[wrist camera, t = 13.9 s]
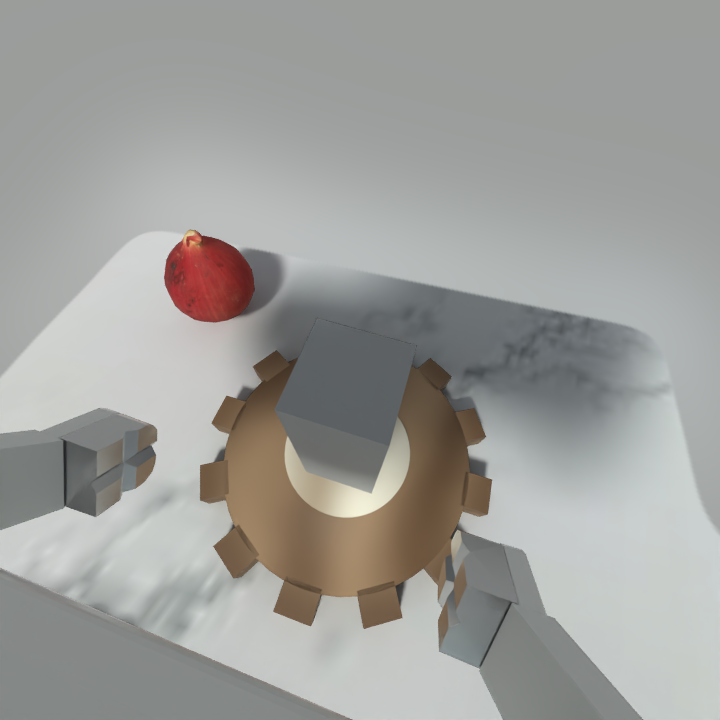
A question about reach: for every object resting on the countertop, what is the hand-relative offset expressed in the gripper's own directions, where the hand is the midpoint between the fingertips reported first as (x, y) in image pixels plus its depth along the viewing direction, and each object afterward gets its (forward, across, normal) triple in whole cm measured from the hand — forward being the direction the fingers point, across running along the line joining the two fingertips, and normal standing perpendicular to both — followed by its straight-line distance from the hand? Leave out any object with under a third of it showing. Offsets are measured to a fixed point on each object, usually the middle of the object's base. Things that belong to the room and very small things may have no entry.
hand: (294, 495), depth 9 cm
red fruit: (+18, +13, +1) cm, 23 cm away
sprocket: (+13, 0, +6) cm, 14 cm away
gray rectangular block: (+11, 0, +5) cm, 12 cm away
